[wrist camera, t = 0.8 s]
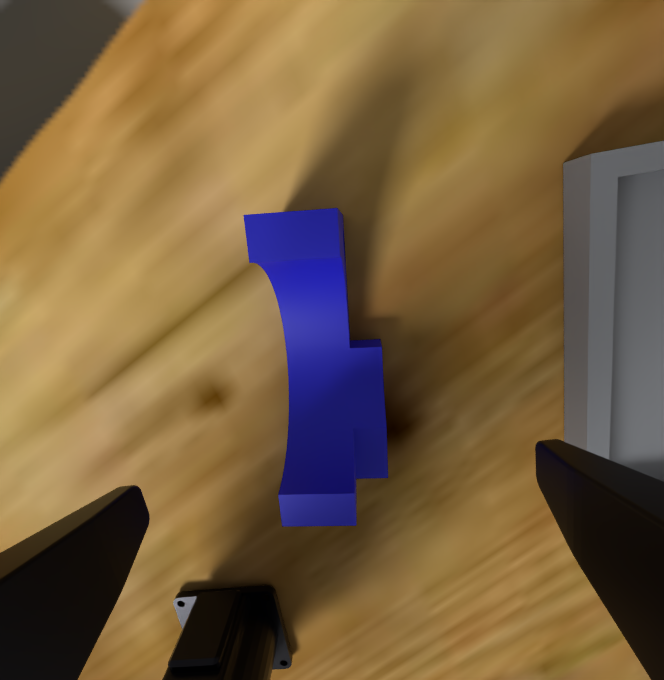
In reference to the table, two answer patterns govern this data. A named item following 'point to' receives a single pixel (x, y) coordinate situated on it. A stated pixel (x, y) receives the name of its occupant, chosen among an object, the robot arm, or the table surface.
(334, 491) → the blue curved cradle
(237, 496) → the table surface
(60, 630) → the robot arm
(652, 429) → the tray
